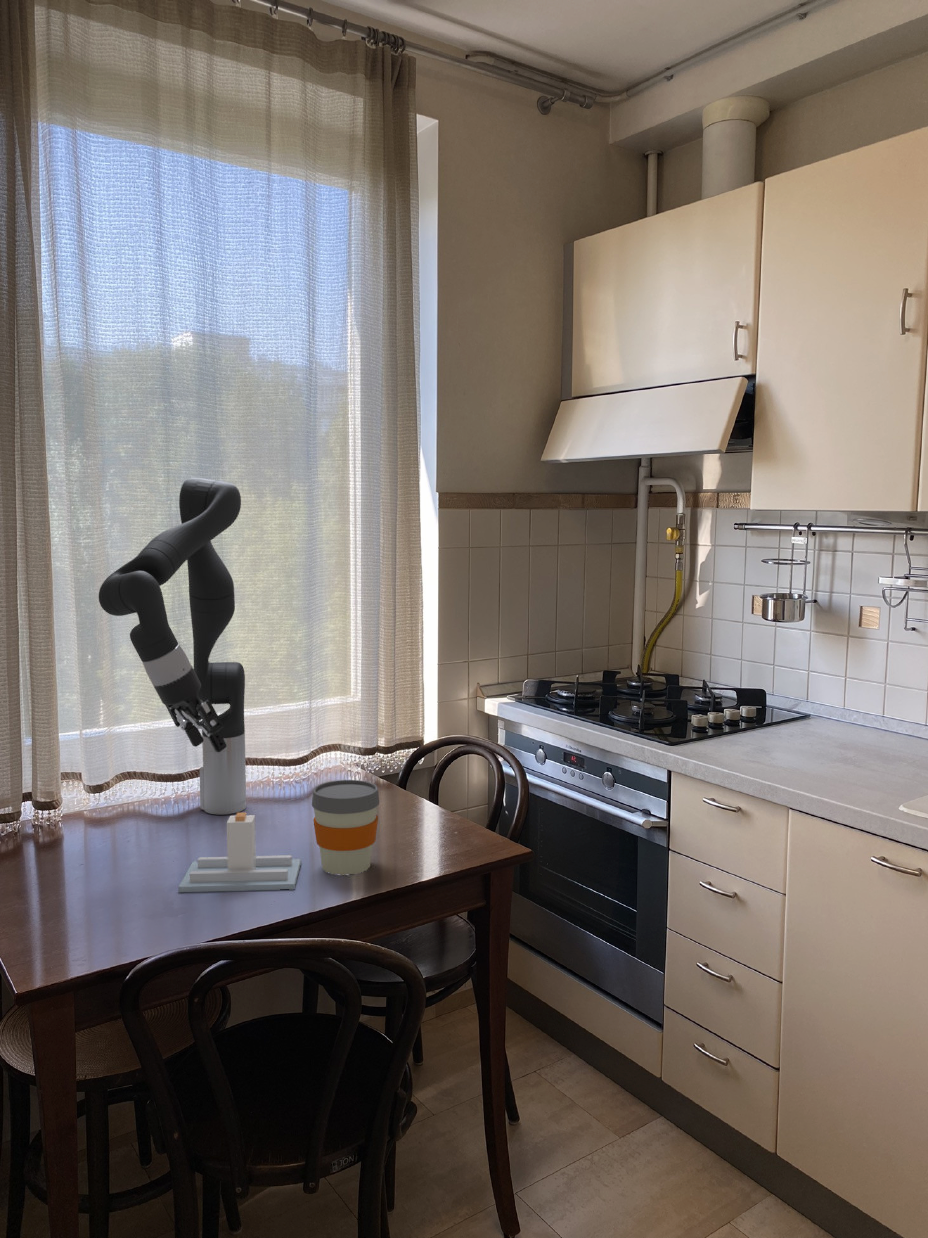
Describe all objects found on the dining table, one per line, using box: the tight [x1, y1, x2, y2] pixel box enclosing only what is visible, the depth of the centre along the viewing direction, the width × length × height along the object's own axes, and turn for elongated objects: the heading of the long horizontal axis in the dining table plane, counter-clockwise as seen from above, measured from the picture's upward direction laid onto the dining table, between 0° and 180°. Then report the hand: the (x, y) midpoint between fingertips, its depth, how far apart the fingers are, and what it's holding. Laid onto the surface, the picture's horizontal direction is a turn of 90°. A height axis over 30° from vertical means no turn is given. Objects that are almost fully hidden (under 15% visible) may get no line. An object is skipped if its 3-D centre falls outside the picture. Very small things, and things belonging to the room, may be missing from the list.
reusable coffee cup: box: [311, 779, 380, 876], centre depth 172 cm, size 12×13×15 cm
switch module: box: [226, 811, 257, 870], centre depth 167 cm, size 4×4×11 cm
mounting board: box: [178, 854, 302, 893], centre depth 167 cm, size 20×12×2 cm, turn 95°
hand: (210, 746), depth 173 cm, fingers open, 8 cm apart
